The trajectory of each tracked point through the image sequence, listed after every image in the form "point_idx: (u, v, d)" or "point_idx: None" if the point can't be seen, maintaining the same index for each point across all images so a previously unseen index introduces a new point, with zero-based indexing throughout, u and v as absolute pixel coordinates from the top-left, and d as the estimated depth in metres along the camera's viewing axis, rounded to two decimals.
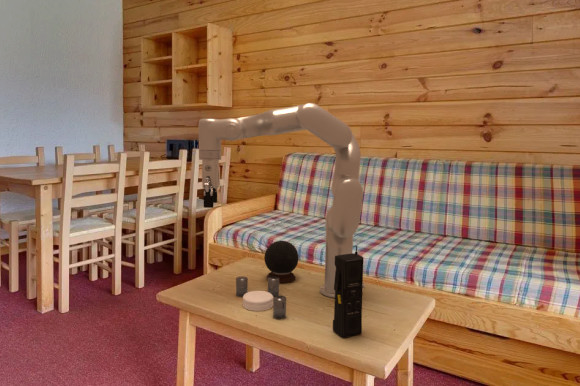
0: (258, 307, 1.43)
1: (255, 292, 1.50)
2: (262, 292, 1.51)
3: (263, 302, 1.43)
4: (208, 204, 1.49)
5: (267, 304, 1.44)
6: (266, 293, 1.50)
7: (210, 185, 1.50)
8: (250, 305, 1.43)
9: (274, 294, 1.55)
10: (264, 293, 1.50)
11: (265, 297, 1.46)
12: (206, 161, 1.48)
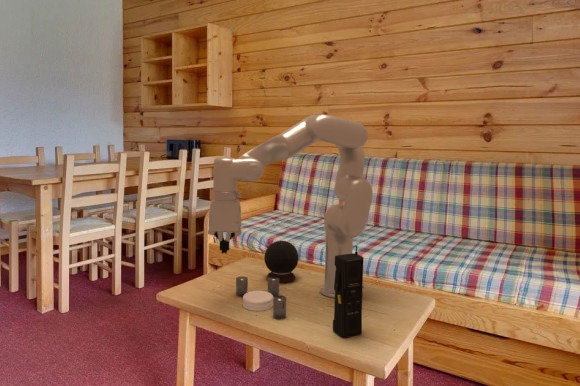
0: (258, 307, 1.43)
1: (255, 292, 1.50)
2: (262, 292, 1.51)
3: (263, 302, 1.43)
4: None
5: (267, 304, 1.44)
6: (266, 293, 1.50)
7: None
8: (250, 305, 1.43)
9: (274, 294, 1.55)
10: (264, 293, 1.50)
11: (265, 297, 1.46)
12: (238, 202, 1.42)
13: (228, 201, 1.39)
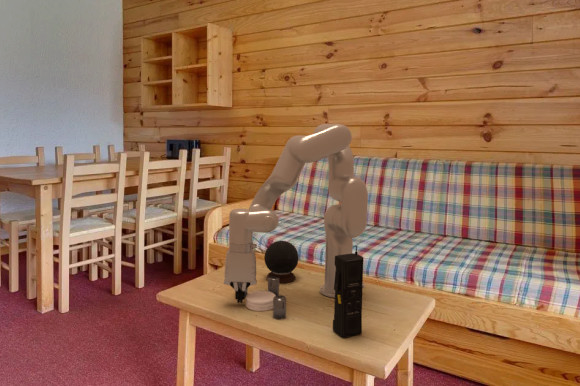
0: (261, 307, 1.43)
1: (258, 292, 1.50)
2: (265, 292, 1.50)
3: (266, 302, 1.43)
4: (244, 297, 1.47)
5: (270, 304, 1.44)
6: (269, 293, 1.50)
7: None
8: (253, 305, 1.43)
9: None
10: (267, 293, 1.50)
11: (268, 297, 1.46)
12: (254, 253, 1.44)
13: (244, 253, 1.41)
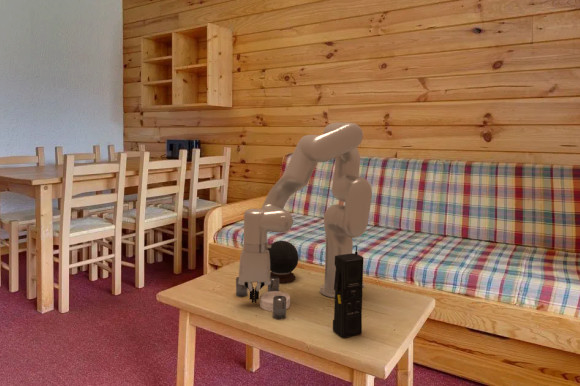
0: None
1: (272, 293, 1.50)
2: (279, 292, 1.50)
3: None
4: (258, 297, 1.47)
5: None
6: (283, 293, 1.50)
7: None
8: (267, 305, 1.43)
9: None
10: (281, 293, 1.50)
11: None
12: (268, 253, 1.45)
13: (258, 253, 1.42)
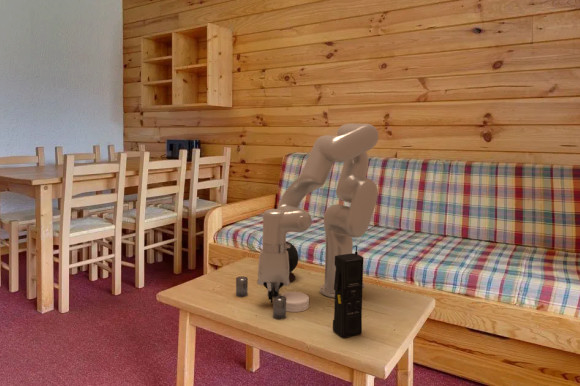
0: (294, 308, 1.42)
1: (291, 293, 1.50)
2: (297, 293, 1.50)
3: (299, 303, 1.43)
4: None
5: (303, 305, 1.44)
6: (301, 294, 1.49)
7: None
8: (286, 306, 1.43)
9: None
10: (299, 294, 1.49)
11: (301, 298, 1.46)
12: (287, 253, 1.45)
13: (278, 253, 1.42)
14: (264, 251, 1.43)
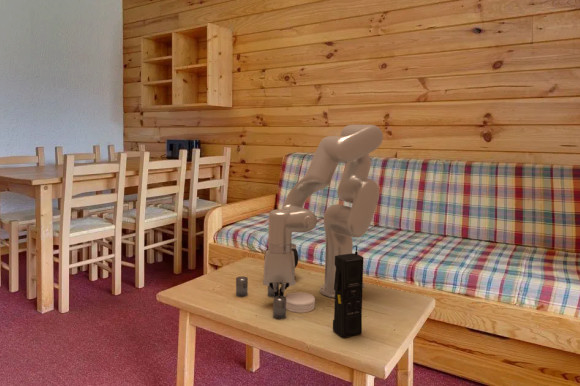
0: (301, 309, 1.42)
1: (297, 294, 1.50)
2: (303, 294, 1.50)
3: (306, 304, 1.42)
4: None
5: (309, 306, 1.43)
6: (307, 295, 1.49)
7: None
8: (293, 307, 1.43)
9: (274, 294, 1.55)
10: (305, 295, 1.49)
11: (307, 299, 1.46)
12: (293, 253, 1.45)
13: (284, 254, 1.42)
14: (270, 252, 1.43)
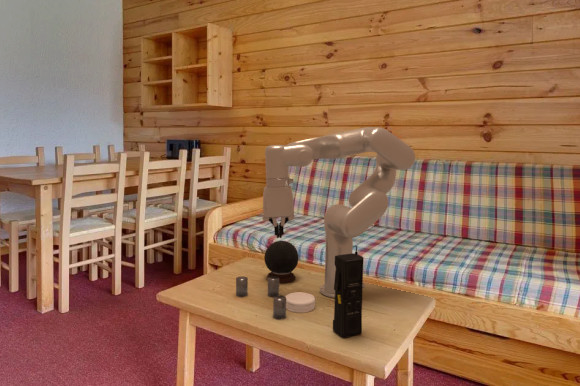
0: (301, 309, 1.42)
1: (297, 294, 1.50)
2: (303, 293, 1.50)
3: (306, 304, 1.42)
4: None
5: (310, 306, 1.43)
6: (307, 294, 1.49)
7: None
8: (293, 306, 1.43)
9: (274, 294, 1.55)
10: (305, 294, 1.49)
11: (307, 299, 1.46)
12: (291, 188, 1.47)
13: (282, 187, 1.44)
14: (268, 186, 1.45)
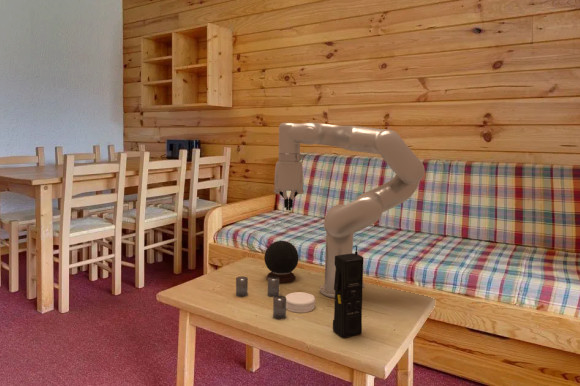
0: (301, 309, 1.42)
1: (297, 294, 1.50)
2: (303, 293, 1.50)
3: (306, 304, 1.42)
4: (292, 206, 1.60)
5: (310, 306, 1.43)
6: (307, 294, 1.49)
7: None
8: (293, 306, 1.43)
9: (274, 294, 1.55)
10: (305, 294, 1.49)
11: (307, 299, 1.46)
12: (301, 163, 1.57)
13: (293, 162, 1.54)
14: (280, 160, 1.55)
